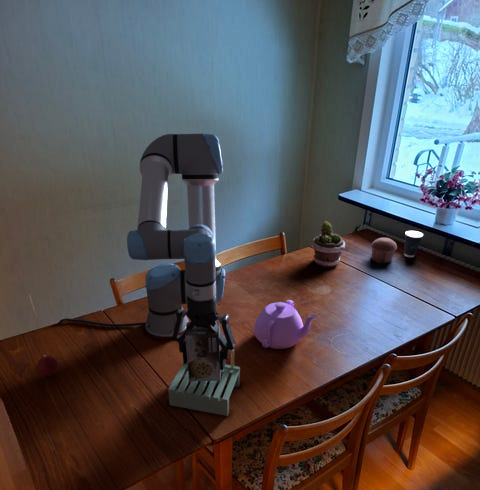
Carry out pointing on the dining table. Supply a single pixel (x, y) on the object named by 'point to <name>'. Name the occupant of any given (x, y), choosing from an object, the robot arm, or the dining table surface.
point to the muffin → (383, 250)
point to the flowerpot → (327, 247)
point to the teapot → (281, 325)
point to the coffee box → (203, 354)
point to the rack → (206, 401)
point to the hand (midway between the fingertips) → (204, 364)
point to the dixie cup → (412, 243)
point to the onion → (47, 365)
